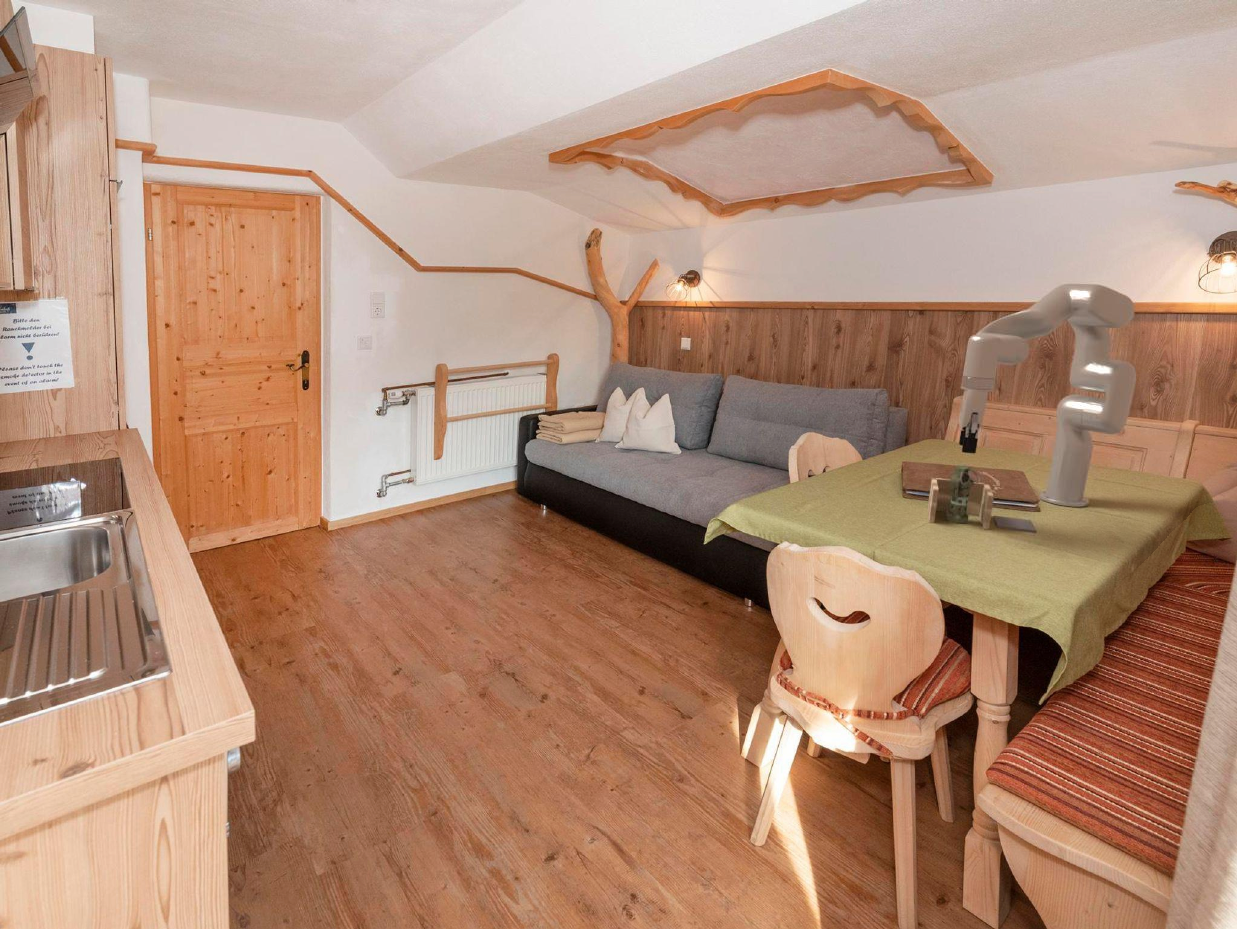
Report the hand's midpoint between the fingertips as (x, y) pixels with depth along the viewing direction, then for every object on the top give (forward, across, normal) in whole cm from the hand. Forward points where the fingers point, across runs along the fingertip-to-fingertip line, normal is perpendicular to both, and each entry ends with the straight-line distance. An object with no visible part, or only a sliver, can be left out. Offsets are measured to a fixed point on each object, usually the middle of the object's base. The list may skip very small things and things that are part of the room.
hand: (966, 449), depth 191 cm
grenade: (+20, -1, +1) cm, 20 cm away
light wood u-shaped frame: (+20, -3, +1) cm, 20 cm away
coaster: (+20, -4, +15) cm, 25 cm away
